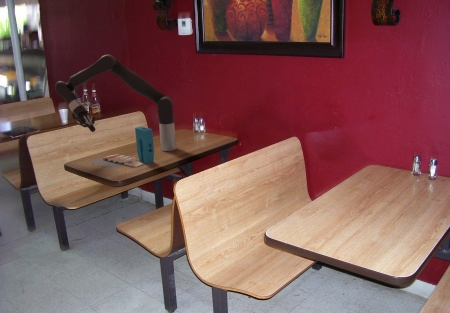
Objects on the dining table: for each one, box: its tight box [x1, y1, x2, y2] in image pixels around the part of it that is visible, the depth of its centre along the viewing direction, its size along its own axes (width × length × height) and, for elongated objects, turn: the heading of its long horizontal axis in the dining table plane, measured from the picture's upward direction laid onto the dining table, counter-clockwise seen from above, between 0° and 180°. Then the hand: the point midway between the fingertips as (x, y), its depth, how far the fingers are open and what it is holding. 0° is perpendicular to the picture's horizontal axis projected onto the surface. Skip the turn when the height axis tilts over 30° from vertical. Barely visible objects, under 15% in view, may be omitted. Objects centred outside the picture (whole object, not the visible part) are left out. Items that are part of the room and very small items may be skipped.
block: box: [134, 126, 155, 165], centre depth 265 cm, size 12×5×20 cm, turn 40°
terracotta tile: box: [103, 153, 121, 160], centre depth 273 cm, size 1×5×10 cm
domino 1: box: [108, 154, 126, 161], centre depth 270 cm, size 1×5×10 cm
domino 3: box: [118, 156, 137, 163], centre depth 265 cm, size 1×5×10 cm
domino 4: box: [124, 160, 144, 168], centre depth 263 cm, size 1×5×10 cm
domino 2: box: [113, 155, 132, 162], centre depth 268 cm, size 1×5×10 cm
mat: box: [87, 155, 126, 170], centre depth 269 cm, size 23×15×1 cm, turn 56°
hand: (94, 131), depth 273 cm, fingers closed
